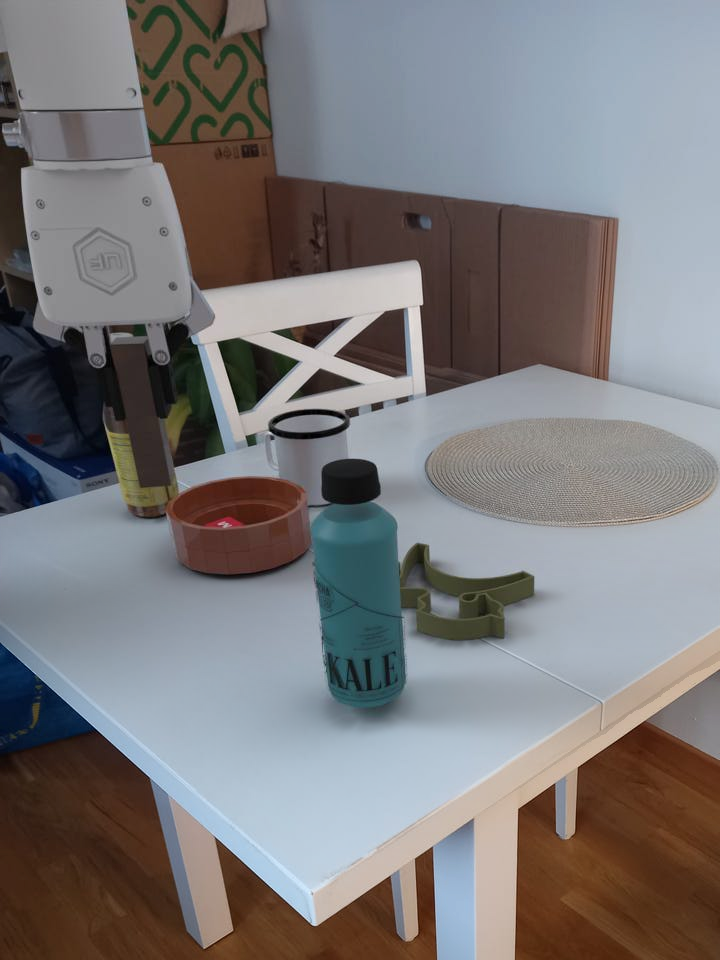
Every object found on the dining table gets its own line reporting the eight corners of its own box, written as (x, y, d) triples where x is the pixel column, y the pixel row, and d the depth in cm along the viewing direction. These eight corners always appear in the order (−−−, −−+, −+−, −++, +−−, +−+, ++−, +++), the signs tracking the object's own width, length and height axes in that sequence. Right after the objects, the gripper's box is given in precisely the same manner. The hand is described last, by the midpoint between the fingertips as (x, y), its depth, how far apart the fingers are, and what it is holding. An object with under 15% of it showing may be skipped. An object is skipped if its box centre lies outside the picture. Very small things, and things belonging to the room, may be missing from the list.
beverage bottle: (376, 670, 78) (357, 441, 68) (426, 702, 74) (415, 464, 63) (311, 701, 74) (281, 463, 64) (361, 737, 70) (337, 490, 60)
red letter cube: (208, 551, 97) (203, 524, 95) (233, 542, 99) (229, 516, 97) (223, 560, 95) (219, 533, 93) (249, 550, 97) (244, 524, 95)
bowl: (168, 585, 92) (158, 534, 89) (182, 527, 104) (174, 481, 101) (313, 572, 94) (307, 523, 91) (310, 517, 106) (305, 471, 103)
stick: (139, 488, 72) (109, 345, 67) (144, 477, 74) (115, 337, 69) (171, 486, 73) (143, 343, 67) (175, 475, 75) (148, 335, 69)
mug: (371, 488, 113) (366, 415, 108) (322, 515, 106) (314, 438, 101) (296, 470, 118) (288, 400, 114) (244, 495, 111) (233, 421, 107)
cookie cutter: (552, 597, 89) (553, 579, 88) (484, 653, 80) (484, 633, 79) (404, 553, 97) (403, 536, 96) (328, 599, 89) (326, 581, 88)
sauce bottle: (159, 495, 112) (124, 325, 101) (193, 506, 109) (161, 333, 98) (113, 513, 107) (72, 337, 97) (147, 525, 104) (108, 345, 94)
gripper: (-59, 147, 57) (21, 436, 66) (209, 143, 59) (248, 424, 69) (-22, 141, 63) (46, 406, 73) (219, 137, 65) (254, 395, 75)
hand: (144, 412), depth 71 cm, fingers closed on stick, 2 cm apart
